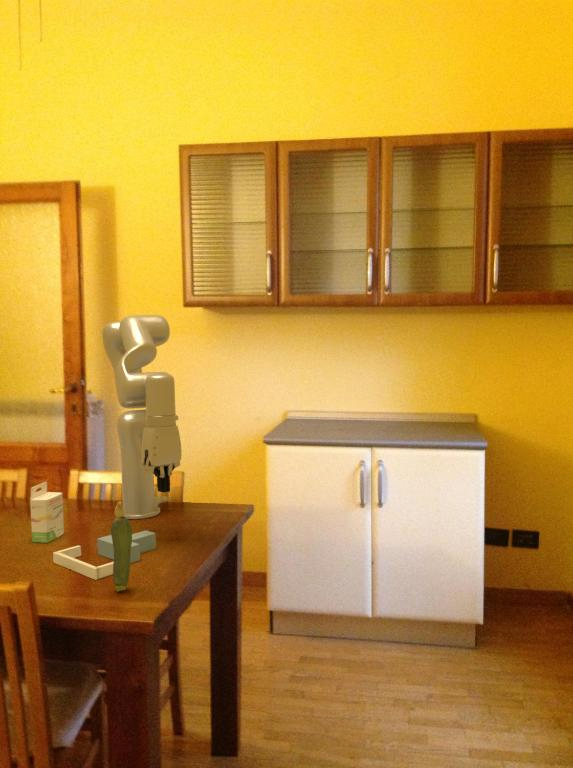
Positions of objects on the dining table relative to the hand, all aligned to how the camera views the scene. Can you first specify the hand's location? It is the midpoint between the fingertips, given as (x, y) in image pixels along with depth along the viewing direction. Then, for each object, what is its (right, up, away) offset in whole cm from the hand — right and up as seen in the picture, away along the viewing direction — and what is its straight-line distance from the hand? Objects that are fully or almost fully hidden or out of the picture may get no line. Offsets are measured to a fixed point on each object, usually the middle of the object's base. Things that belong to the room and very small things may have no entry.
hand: (163, 491), depth 181 cm
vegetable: (-3, -17, -31) cm, 35 cm away
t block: (-7, -15, -6) cm, 17 cm away
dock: (-16, -16, -16) cm, 28 cm away
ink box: (-33, -14, +7) cm, 36 cm away
